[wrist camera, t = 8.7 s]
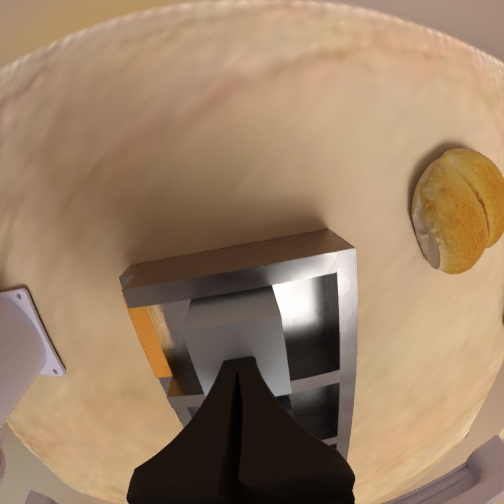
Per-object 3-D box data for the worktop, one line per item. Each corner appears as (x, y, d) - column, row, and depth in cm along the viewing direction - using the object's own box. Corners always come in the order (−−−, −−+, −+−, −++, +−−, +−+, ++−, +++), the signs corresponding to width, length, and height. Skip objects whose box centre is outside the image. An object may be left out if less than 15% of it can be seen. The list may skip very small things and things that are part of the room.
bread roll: (495, 222, 17) (528, 234, 13) (428, 282, 18) (460, 304, 14) (469, 129, 15) (506, 128, 11) (390, 181, 16) (428, 187, 12)
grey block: (214, 347, 17) (209, 405, 12) (196, 282, 16) (181, 330, 11) (277, 337, 17) (291, 393, 12) (267, 270, 16) (281, 314, 11)
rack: (215, 464, 23) (214, 512, 17) (129, 265, 16) (85, 312, 10) (334, 445, 23) (349, 491, 17) (329, 229, 16) (374, 261, 11)
